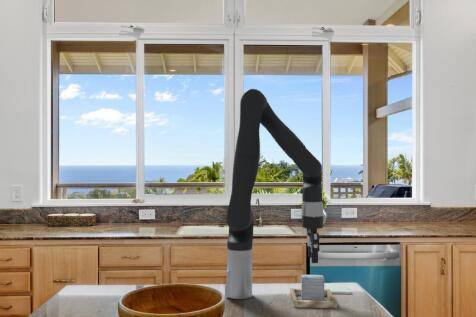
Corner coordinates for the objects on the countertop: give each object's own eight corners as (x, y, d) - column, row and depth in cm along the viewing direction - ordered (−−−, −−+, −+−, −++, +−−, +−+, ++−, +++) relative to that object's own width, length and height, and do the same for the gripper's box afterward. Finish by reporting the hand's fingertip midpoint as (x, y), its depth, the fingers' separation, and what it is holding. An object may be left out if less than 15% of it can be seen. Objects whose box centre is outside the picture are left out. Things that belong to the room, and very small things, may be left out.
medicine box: (323, 299, 148) (323, 274, 148) (324, 303, 144) (324, 278, 144) (300, 298, 149) (301, 274, 149) (301, 302, 145) (301, 277, 145)
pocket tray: (293, 307, 140) (293, 301, 140) (290, 294, 154) (290, 288, 154) (337, 308, 139) (337, 302, 139) (329, 294, 153) (329, 289, 153)
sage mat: (321, 293, 155) (321, 291, 155) (317, 285, 166) (317, 283, 166) (351, 294, 154) (351, 291, 154) (344, 285, 165) (344, 283, 165)
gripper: (299, 212, 154) (300, 255, 154) (304, 216, 140) (304, 265, 140) (320, 212, 154) (320, 255, 154) (326, 216, 140) (327, 265, 139)
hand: (313, 260), depth 147 cm, fingers open, 8 cm apart
